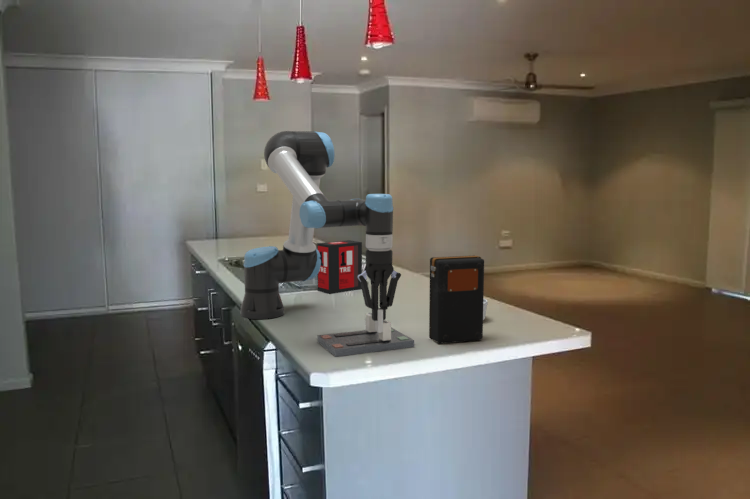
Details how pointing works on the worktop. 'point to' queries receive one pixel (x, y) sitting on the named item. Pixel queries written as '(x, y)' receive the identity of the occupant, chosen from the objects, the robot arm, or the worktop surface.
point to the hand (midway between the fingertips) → (378, 331)
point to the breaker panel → (362, 342)
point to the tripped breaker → (386, 331)
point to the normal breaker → (369, 323)
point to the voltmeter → (456, 298)
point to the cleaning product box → (339, 266)
